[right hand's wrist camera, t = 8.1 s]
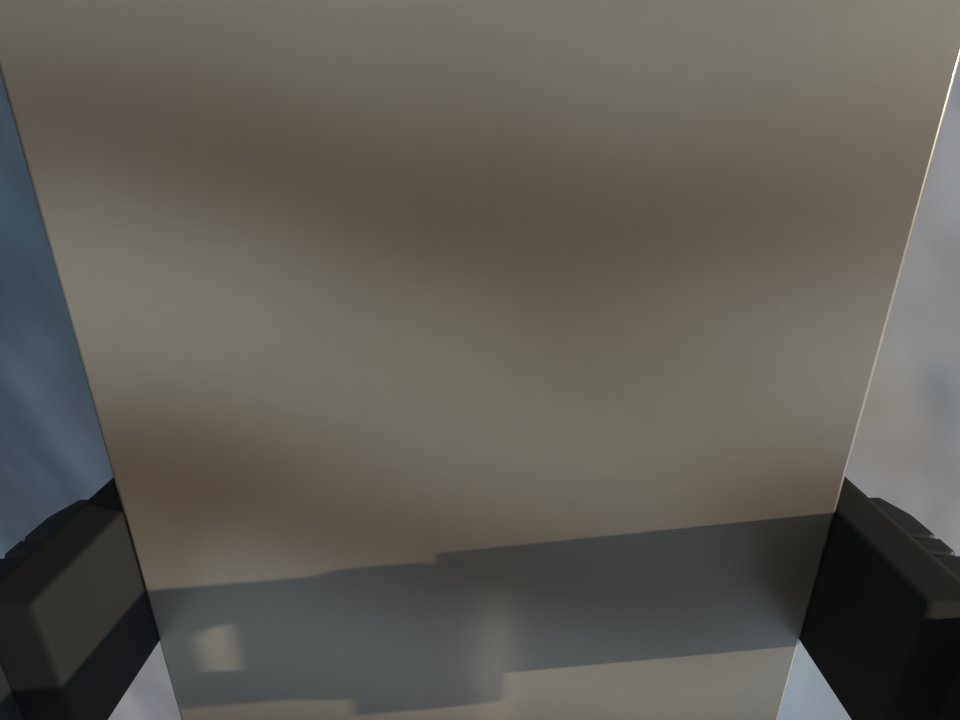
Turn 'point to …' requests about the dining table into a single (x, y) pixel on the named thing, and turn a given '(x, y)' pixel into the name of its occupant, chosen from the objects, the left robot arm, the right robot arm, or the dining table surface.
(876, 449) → the dining table surface
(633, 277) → the cabinet
